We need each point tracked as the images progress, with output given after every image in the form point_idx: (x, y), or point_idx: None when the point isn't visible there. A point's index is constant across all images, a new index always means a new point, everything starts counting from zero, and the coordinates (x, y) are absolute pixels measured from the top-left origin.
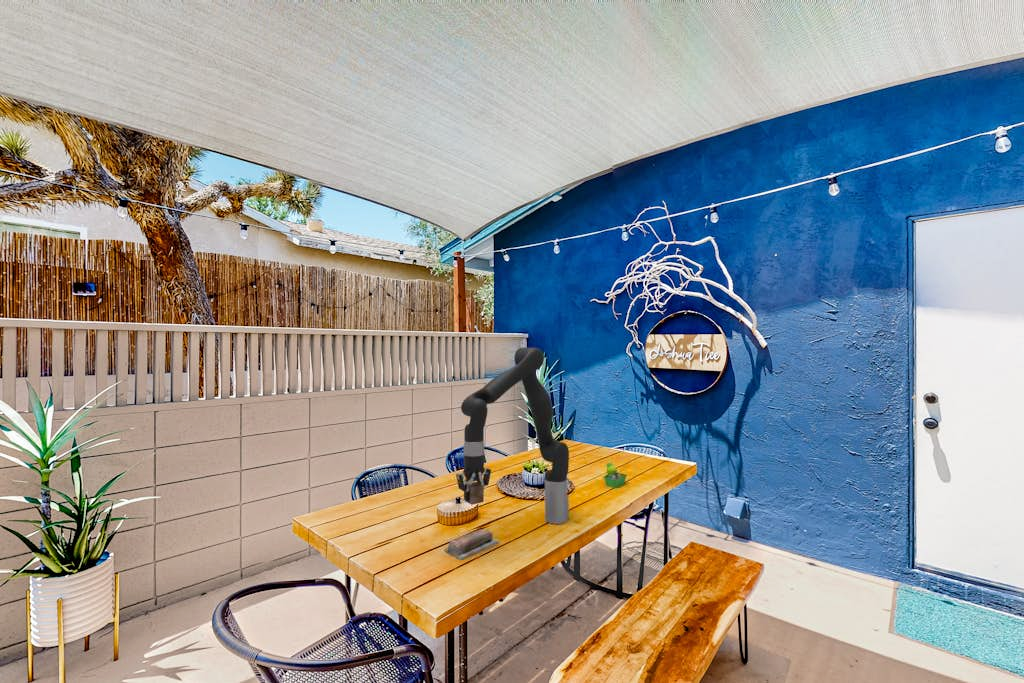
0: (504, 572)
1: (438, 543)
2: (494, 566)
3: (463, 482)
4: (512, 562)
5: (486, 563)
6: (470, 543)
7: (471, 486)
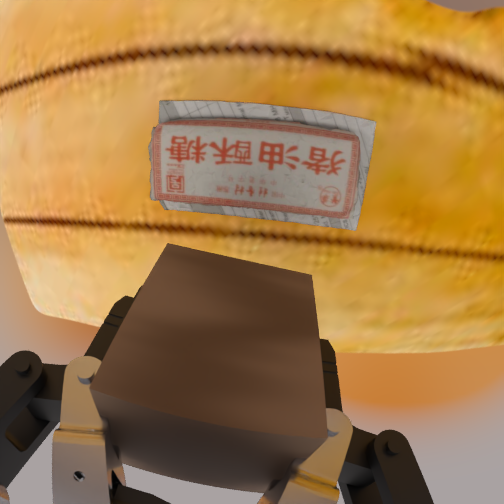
0: None
1: (189, 28)
2: None
3: (18, 467)
4: None
5: None
6: (216, 205)
7: (136, 456)
